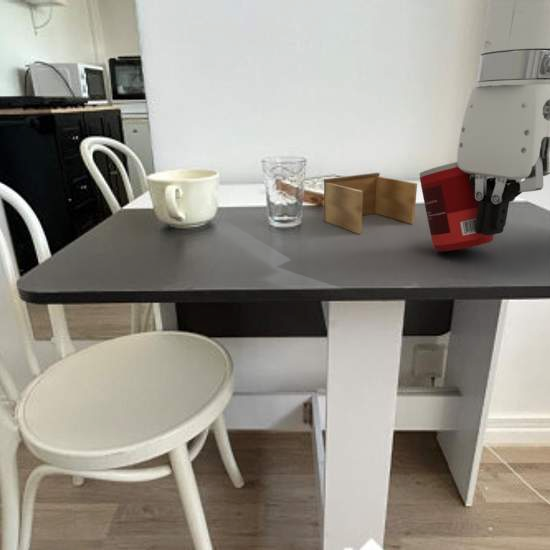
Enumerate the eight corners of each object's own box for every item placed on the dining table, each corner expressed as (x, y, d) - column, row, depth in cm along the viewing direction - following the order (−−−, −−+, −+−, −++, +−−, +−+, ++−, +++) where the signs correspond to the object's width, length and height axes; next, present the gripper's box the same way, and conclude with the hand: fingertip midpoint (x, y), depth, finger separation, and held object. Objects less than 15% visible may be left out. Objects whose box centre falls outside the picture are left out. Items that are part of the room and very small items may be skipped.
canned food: (504, 236, 60) (489, 156, 59) (479, 246, 54) (463, 159, 53) (450, 244, 65) (436, 171, 64) (423, 254, 60) (408, 175, 59)
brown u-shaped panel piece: (414, 223, 76) (417, 179, 73) (358, 234, 71) (360, 187, 69) (375, 212, 85) (377, 172, 82) (323, 220, 80) (323, 178, 78)
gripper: (607, 67, 44) (567, 243, 50) (481, 77, 56) (461, 217, 63) (561, 65, 41) (524, 253, 47) (438, 76, 53) (422, 223, 60)
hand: (488, 232), depth 55 cm, fingers closed
